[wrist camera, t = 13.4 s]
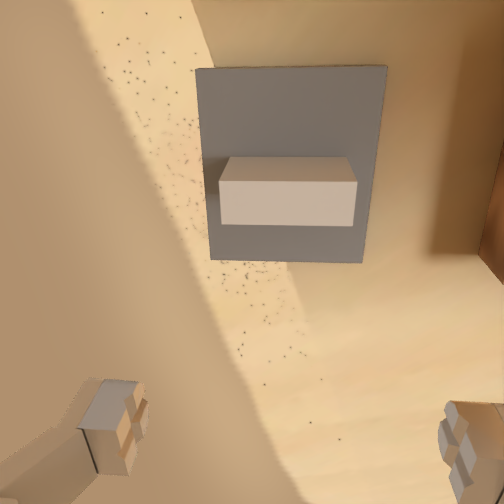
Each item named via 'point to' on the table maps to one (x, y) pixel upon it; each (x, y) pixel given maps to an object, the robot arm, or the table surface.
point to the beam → (495, 226)
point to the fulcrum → (289, 160)
